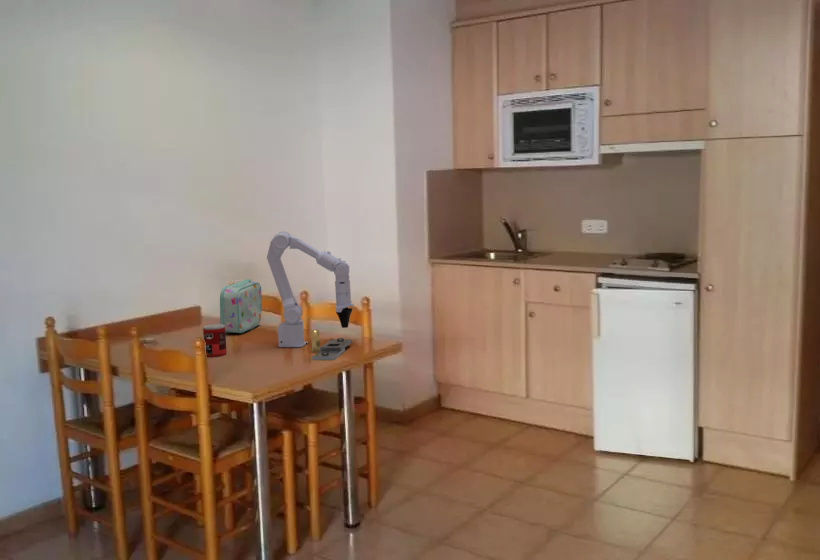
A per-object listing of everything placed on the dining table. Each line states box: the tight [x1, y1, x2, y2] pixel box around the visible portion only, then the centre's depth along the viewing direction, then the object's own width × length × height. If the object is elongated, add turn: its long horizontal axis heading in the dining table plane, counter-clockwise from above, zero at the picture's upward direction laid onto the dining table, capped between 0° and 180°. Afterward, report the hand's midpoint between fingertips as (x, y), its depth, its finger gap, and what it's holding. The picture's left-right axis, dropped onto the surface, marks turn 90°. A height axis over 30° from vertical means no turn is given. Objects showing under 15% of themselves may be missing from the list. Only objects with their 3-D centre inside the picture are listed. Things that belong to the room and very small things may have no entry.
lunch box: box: [219, 278, 263, 334], centre depth 350 cm, size 27×10×21 cm, turn 169°
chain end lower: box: [311, 347, 346, 361], centre depth 295 cm, size 8×14×2 cm, turn 168°
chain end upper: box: [320, 337, 353, 351], centre depth 304 cm, size 8×14×2 cm, turn 168°
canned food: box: [202, 323, 228, 358], centre depth 303 cm, size 8×8×11 cm
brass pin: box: [310, 329, 321, 353], centre depth 302 cm, size 3×3×8 cm
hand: (345, 327), depth 315 cm, fingers closed
